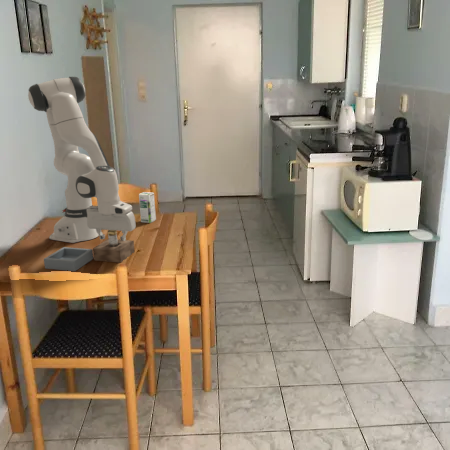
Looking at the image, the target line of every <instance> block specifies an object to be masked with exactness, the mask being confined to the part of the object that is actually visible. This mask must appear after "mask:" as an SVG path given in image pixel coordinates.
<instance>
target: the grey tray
mask: <svg viewBox="0 0 450 450" xmlns="http://www.w3.org/2000/svg"><path fill="white" fill-rule="evenodd" d="M92 260H94V254H93V248H82V247H81V248H80V247H79V248H78V247H67V246H64V247H61V248H60V249H58V250H57V251H55V252H53V253H51V254H49V255H48V256H46V257H44V258H43V263H44V268H45V269H47V270H57V271H59V270H60V271H67V270H68V271H69V272H76V271H77V270H79V269H81V268H82V267H84V266H85V265H86V264H89V262H91V261H92Z"/></svg>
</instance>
